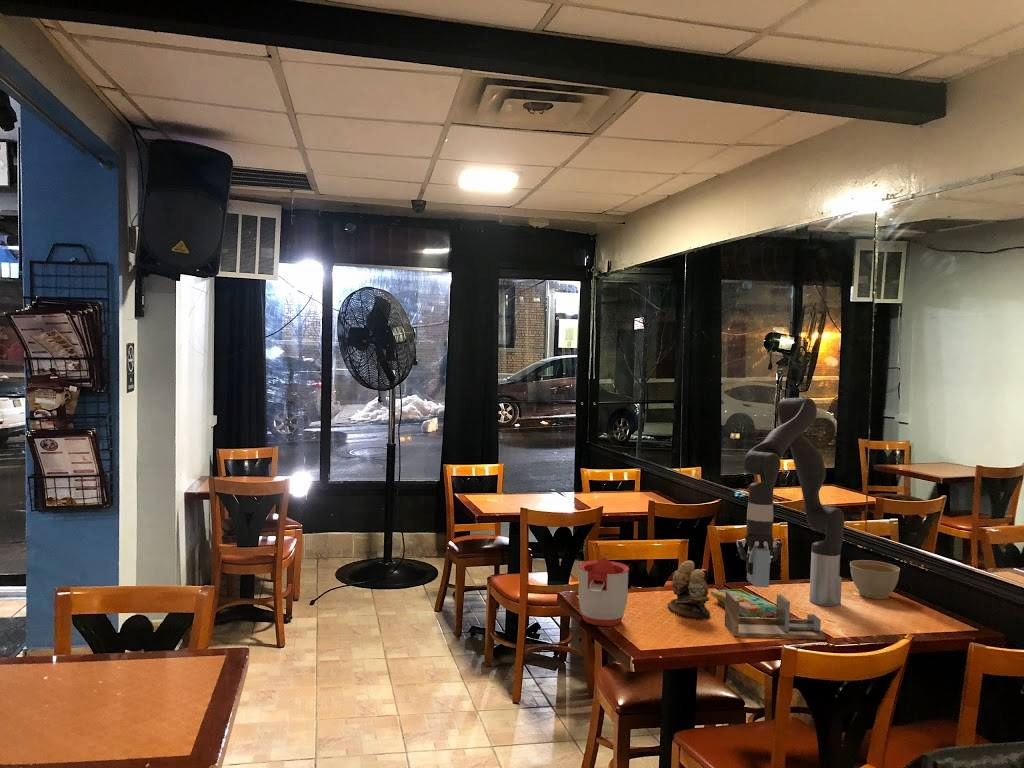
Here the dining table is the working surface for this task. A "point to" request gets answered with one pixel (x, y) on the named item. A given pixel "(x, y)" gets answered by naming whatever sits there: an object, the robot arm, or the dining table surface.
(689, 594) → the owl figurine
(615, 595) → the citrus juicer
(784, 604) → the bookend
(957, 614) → the dining table surface
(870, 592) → the planter bowl
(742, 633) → the shelf
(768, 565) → the pale blue block
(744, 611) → the puzzle game
